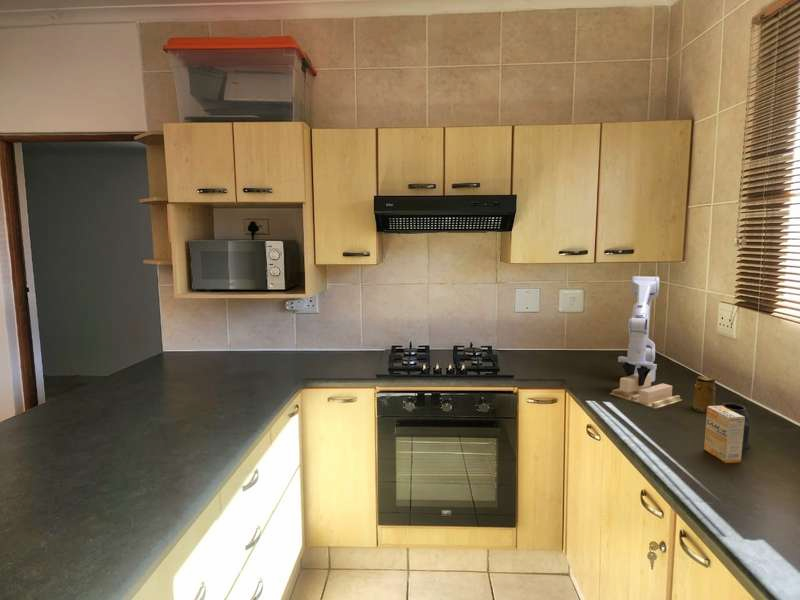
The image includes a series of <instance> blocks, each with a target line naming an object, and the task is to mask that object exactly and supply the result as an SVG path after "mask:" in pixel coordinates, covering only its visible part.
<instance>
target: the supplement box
mask: <svg viewBox="0 0 800 600" xmlns="http://www.w3.org/2000/svg"><path fill="white" fill-rule="evenodd" d="M744 421H745V417H744V416H742V415H740V414H738V413H736V412H734V411H732V410H730V409H727V408H725V407H724V406H722V405H715V406H708V407H707V413H706V419H705V430H704V431H705V432H704V434H705V435H704V445H703V446H704V447H703V449H704V451H705V450H706V452H707V453H709V454H711V455H712V456H714V457H716V458H717V459H719V460H721V461H722V462H723V463H725V464H734V463H741V462H742V452H743V450H742V443H743V432H744Z"/></svg>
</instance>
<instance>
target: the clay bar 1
mask: <svg viewBox="0 0 800 600" xmlns="http://www.w3.org/2000/svg"><path fill="white" fill-rule="evenodd" d="M648 387H652V382H651V374H648V375H647V377H646V379H645V382H644V385H643V386H639V385H638V374H634V375H631V376H627V375H626V376H624V377H621V378H620V379H619V388H620V390H622V391H625V392H628V393H629V392H632V391H636V390H639V389H642V388H643V389H644V388H648Z"/></svg>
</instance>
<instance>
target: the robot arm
mask: <svg viewBox="0 0 800 600" xmlns="http://www.w3.org/2000/svg"><path fill="white" fill-rule="evenodd" d="M630 286H631V287H630V288H631V293H632V296H633V297H634V298H636V303H635V302H634V304H633V306H632V310H631V316H630V318H629V320H628V324H627V325H628V339H629V340H628V341H629V342H628V346H627V356H623V355H620V356H618V357H617V359H618V360H617V362H619V363H624V364H622V365H621V366H622V368H623V370H624V372H625V375H626V377H627V376H631V375H634V374H638V385H639V386H643V385H644V382H645V379H646V377H647V375H648V374H651V383H653V382H655V381H656V371H657V370H658V369H657V368H658V367H657V365H658V364H657V363H654V362H655V359H656V344H655V342H654V341H652V340H651V339H650V338H649V335H650V334H649V333H650V320H651V307H652V305H651V304H652V302H653V300H654V299H656V298H658V295H659V291H660V277H659V276H648V275H647V276H643V275H642V276H641V275H640V276H639V275H633V276H632V278H631V285H630Z"/></svg>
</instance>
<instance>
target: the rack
mask: <svg viewBox="0 0 800 600" xmlns="http://www.w3.org/2000/svg"><path fill="white" fill-rule="evenodd" d="M642 389H644V388H642ZM639 390H641V389H639ZM639 390H636V391H632V392H629V393H628V392H625V391H622V390H620V387H619V388H616V389H615V388H614V389H612V390H611V392H610V393H609V395H613V396H615V397H618V398H621V399H625V400H628V401H631V402H634V403H637V404H641V405H643V406H646V407H650V408H653V409H659V408H661V407H662V408H663V407H665V406H669V405H671V404H675V403H678V402H681V401H682V399H681V396H680V395H678V394H677V395H672V397H669V398H666V399H663V400H659V401H656V402H653V403H652V404H649V405H647V404H644V403H641V402H639Z"/></svg>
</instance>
